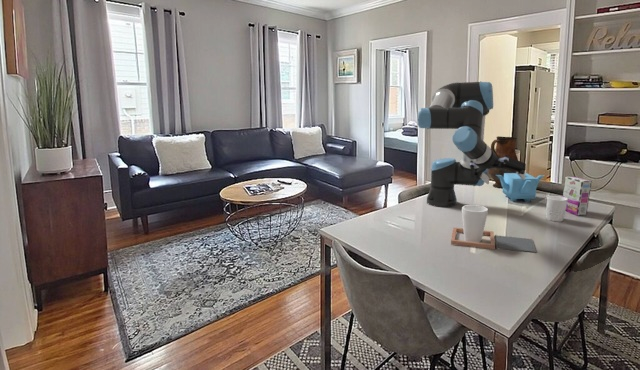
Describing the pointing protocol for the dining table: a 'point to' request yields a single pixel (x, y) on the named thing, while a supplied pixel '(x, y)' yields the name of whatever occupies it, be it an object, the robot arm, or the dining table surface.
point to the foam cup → (474, 222)
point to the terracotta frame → (473, 244)
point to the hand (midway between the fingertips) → (505, 178)
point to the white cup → (556, 208)
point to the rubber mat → (515, 244)
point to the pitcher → (502, 148)
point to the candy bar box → (577, 195)
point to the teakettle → (519, 186)
